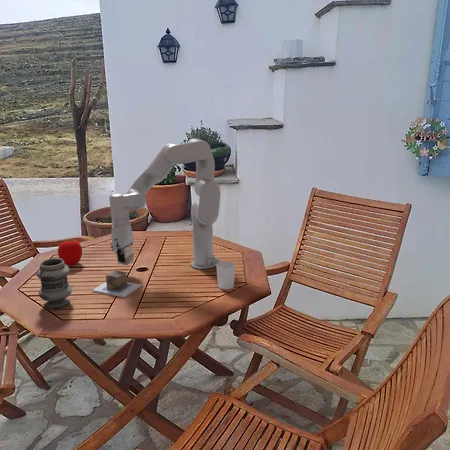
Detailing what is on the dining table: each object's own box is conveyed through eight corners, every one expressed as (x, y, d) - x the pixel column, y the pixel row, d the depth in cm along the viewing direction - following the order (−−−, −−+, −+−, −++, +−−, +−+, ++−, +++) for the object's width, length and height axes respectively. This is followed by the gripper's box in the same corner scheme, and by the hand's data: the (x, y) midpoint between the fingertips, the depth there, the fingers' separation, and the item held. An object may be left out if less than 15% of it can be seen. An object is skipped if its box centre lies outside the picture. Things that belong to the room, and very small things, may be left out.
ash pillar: (133, 261, 200) (131, 244, 198) (127, 265, 196) (125, 248, 194) (124, 260, 202) (122, 243, 200) (117, 264, 198) (115, 247, 196)
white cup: (222, 291, 182) (221, 269, 179) (213, 285, 189) (213, 263, 186) (238, 287, 186) (238, 265, 183) (229, 281, 192) (229, 260, 190)
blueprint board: (141, 286, 188) (141, 284, 188) (124, 297, 178) (124, 295, 177) (110, 281, 194) (110, 279, 194) (92, 291, 183) (92, 289, 183)
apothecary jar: (41, 314, 164) (35, 269, 159) (40, 301, 175) (34, 258, 170) (75, 308, 169) (70, 264, 164) (72, 296, 180) (67, 254, 175)
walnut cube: (127, 285, 187) (126, 272, 186) (118, 290, 182) (117, 277, 180) (115, 283, 189) (114, 270, 188) (106, 288, 184) (105, 275, 182)
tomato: (64, 270, 207) (61, 245, 203) (56, 264, 214) (53, 239, 211) (87, 265, 214) (85, 239, 210) (78, 259, 222) (75, 235, 218)
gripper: (125, 215, 203) (129, 252, 208) (101, 226, 188) (106, 265, 193) (138, 216, 200) (142, 254, 205) (116, 227, 185) (121, 267, 190)
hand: (125, 259), depth 199 cm, fingers closed on ash pillar, 5 cm apart
